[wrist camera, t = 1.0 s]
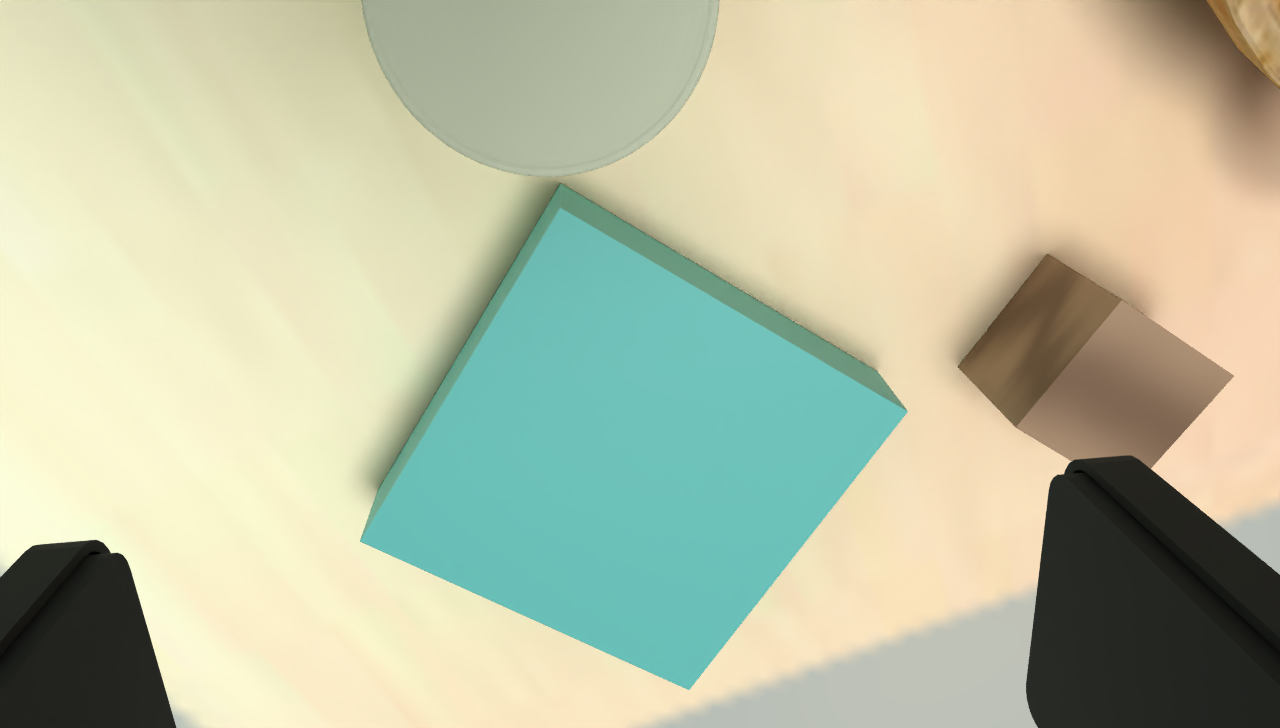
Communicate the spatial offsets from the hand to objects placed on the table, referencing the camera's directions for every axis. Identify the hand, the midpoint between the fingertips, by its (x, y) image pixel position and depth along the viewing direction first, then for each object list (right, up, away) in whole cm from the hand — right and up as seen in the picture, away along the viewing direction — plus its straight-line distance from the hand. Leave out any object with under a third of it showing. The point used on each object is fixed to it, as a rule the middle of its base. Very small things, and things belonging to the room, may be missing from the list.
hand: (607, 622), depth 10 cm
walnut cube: (+18, +3, +32) cm, 37 cm away
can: (-3, +16, +25) cm, 30 cm away
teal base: (0, 0, +32) cm, 32 cm away
